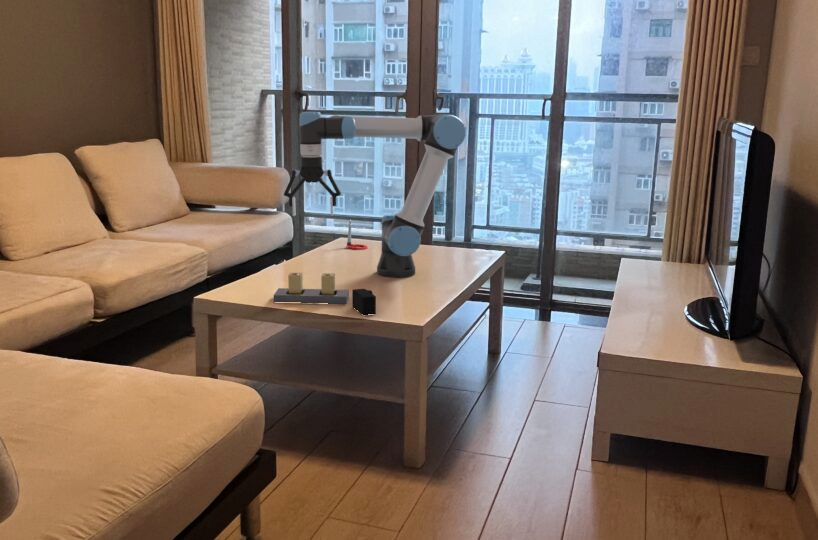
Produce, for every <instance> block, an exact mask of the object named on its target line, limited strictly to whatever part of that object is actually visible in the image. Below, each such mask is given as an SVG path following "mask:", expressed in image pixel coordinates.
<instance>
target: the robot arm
mask: <svg viewBox="0 0 818 540" xmlns="http://www.w3.org/2000/svg"><path fill="white" fill-rule="evenodd" d="M321 114H322V113H321V112H320V111H302V112H301V113H300V114H299V126H298V127H299V140H300V141H299V142H300V155H301V157H300V170H297V169H293V170H291V177H290V180H289V182H288V184H287V186H286V188H285V189H284V190H285V191H284V192H283V196H285V197H288V203H289V204H288V205H289V207H292V216H293V217H295V216H296V209H297V208H296V197H295V196H294V195H295V194H296V193H297V192H298V190H299V189H300V188H301V187H302V186H303V184H304V183H305V182H306V183H307V184H308V183H313V184H314V183H320V185H322V186H323V188H324V189H325V190H326V191H327V192H328V194H329V195H330V199H329V201H330V216H331V217H333V216H334V207H336V206H337V197H339V196H341V195H342V192H341V189H340V188H339V186H338V184H337V182H336V181H335V178H334V176H333V175H332V170H331V169H330V168H329V169H327V170H326V169H325V170H323V158H322V154H323V148H322V147H323V146H322V145H323V144H322V140H341V139H342V140H347V139H348V140H351V139H354V138H374V139H375V138H378V139H379V138H381V139H382V138H383V139H384V138H385V139H412V140H413V139H415V140H417V141H418V142H424V148H425V153H424V155H423V158H422V160H421V163H420V165H419V167H418V171H417V172H416V174H415V177H414V180H413V182H412V184H411V187H410V189H409V192H408V194H407V197H406V199H405V202H404V203H403V206H402V208H401V211H399V212H397V213H395V214H387V215H383V216H382V217H381V223H380V224H381V253H380V256H379V260H378V263H377V265H376V273H377V275H379V276H383V277H390V278H403V277H404V278H405V277H410V276H413V275H416V265H415V262H414V259H413V256H412V255H413V254H415V253H416V252H417V251H418V249H419V248H420V246H421V242H422V238H421V235H422V234H423V231H424V228H425V223H424V217H425V215H426V213H427V210H428V208H429V206H430V204H431V202H432V201H431V200H432V199H433V196H434V194H435V191H436V189H437V186H438V184H439V182H440V180H441V177H442V175H443V173H444V170H445V167H446V165H447V163H448V161H449V159H452V158H454V157H455V154H456V151H457V150H458V147H460V146H461V145H462V144H463V143H464V141H465V138H466V133H467V130H466V126H465V124H464V121H462V119H460V118H459V117H457V116H455V115H453V114H450V113H449V114H446V113H438V114H432V115H431V114H430V115H418V116H417V117H416V118H415V117H388V116H385V117H381V116H354V115H353V116H350V115H349V116H348V115H347V116H346V115H345V116H344V115H341V116H340V115H331V116H329V117H323V116H322V115H321ZM299 175H300V176H301V177H302V179H301V180H299V182H298V183H297V185H296V186H295V187H294V189H293V190H292V191H291V192H290V190H291V188H292V186H293V184H294V182H295V179H296V177H298V176H299ZM323 175H325V176H326V177H327V178H328V179H329V181H330V184H331V185H332V187H333V189H334V190H333V189H332V188H331V187H330V185H329V184H327V182H326V181H325V180H324V178H323Z"/></svg>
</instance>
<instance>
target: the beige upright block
mask: <svg viewBox="0 0 818 540" xmlns="http://www.w3.org/2000/svg"><path fill="white" fill-rule="evenodd" d="M335 282H336V273H330V272H329V273H327V272H324V273H322V275H321V282H320V283H321V286H320V287H321V289H322V295H335V290H336V283H335Z"/></svg>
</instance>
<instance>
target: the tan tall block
mask: <svg viewBox="0 0 818 540" xmlns="http://www.w3.org/2000/svg"><path fill="white" fill-rule="evenodd" d="M287 278H288V280H287V281H288V289H289V294H302V289H303V272H289V274H288V277H287Z"/></svg>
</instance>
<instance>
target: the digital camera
mask: <svg viewBox="0 0 818 540" xmlns="http://www.w3.org/2000/svg"><path fill="white" fill-rule="evenodd" d="M351 297H352V300H351V301H352V307H353V308H352V309H354V308H355V309H356V310H358V311H359V312H360V313H361V314H363V315H368V314H377V313H376V311H377V308H376V306H377V296H376V295H374V294H373V291H372V290H371V289H369V290H367V289H366V288H355V289H352V296H351ZM355 309H354V310H355ZM356 310H355V311H356ZM359 312H358V313H359ZM360 313H359V314H360ZM361 314H360V315H361Z"/></svg>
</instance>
